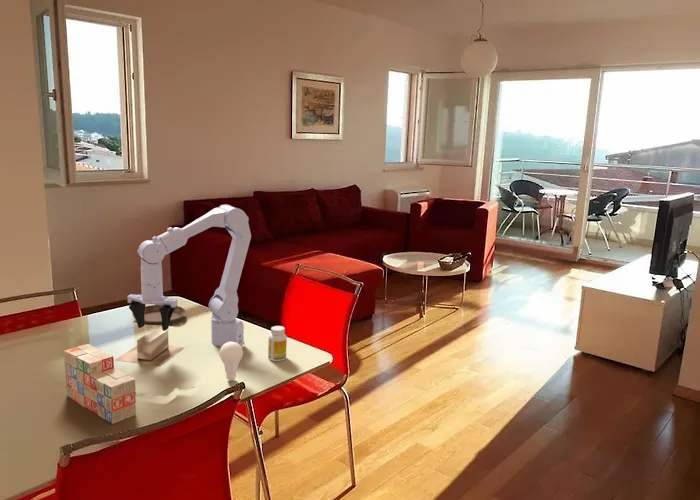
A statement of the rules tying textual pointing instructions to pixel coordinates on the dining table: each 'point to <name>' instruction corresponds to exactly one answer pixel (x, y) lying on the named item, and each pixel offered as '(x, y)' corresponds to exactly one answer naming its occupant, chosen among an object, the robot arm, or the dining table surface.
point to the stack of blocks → (99, 383)
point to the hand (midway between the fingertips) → (153, 328)
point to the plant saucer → (154, 315)
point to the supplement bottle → (277, 344)
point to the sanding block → (152, 345)
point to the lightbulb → (231, 358)
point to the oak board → (161, 359)
